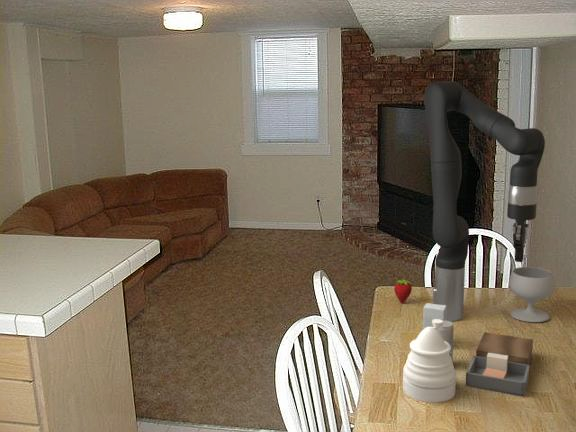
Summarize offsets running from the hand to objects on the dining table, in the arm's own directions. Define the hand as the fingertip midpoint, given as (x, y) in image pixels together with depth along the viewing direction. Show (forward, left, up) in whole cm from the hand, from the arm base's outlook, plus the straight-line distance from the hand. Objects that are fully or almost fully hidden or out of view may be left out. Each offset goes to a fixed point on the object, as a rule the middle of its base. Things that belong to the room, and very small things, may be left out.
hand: (518, 261), depth 176 cm
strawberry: (-39, +20, -25) cm, 51 cm away
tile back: (-2, -21, -22) cm, 31 cm away
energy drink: (-16, -22, -25) cm, 37 cm away
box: (-1, -26, -25) cm, 36 cm away
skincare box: (-21, -10, -25) cm, 34 cm away
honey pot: (-16, -37, -25) cm, 48 cm away
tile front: (-2, -28, -22) cm, 36 cm away
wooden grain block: (-1, -14, -25) cm, 28 cm away
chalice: (+2, +24, -25) cm, 35 cm away
